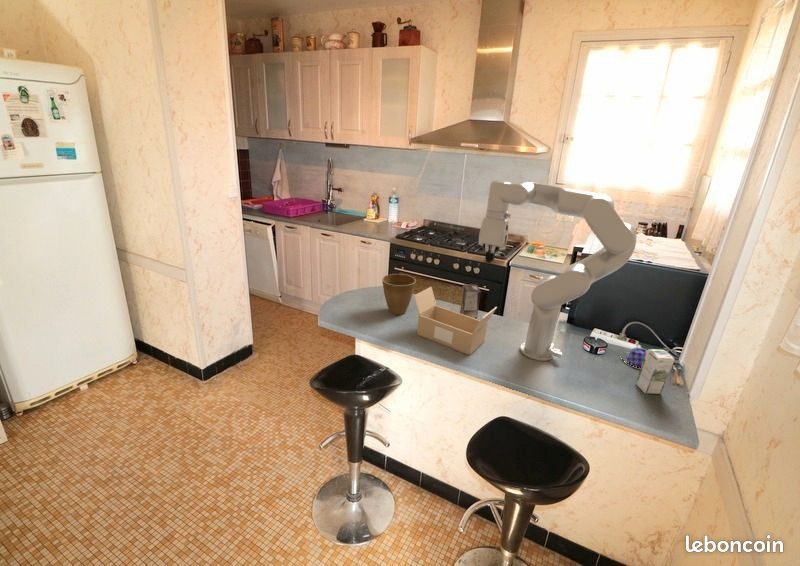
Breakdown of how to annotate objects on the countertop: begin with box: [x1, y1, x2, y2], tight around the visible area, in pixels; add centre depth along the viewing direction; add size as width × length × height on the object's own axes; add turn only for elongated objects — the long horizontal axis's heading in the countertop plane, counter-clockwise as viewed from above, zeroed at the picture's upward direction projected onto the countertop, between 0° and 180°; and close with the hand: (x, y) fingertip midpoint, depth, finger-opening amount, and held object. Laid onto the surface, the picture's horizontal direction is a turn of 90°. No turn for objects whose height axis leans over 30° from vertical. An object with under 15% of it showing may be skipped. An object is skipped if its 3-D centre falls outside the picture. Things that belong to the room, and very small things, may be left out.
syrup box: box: [635, 348, 675, 395], centre depth 131 cm, size 6×6×14 cm
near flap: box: [472, 306, 498, 334], centre depth 146 cm, size 8×13×1 cm
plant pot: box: [381, 273, 417, 316], centre depth 176 cm, size 15×15×16 cm
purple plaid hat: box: [620, 347, 648, 370], centre depth 149 cm, size 12×12×5 cm
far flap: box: [413, 286, 437, 315], centre depth 160 cm, size 8×13×1 cm
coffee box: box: [459, 283, 482, 319], centre depth 171 cm, size 9×6×16 cm
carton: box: [416, 304, 488, 356], centre depth 156 cm, size 24×13×9 cm, turn 54°
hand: (489, 261), depth 151 cm, fingers closed
